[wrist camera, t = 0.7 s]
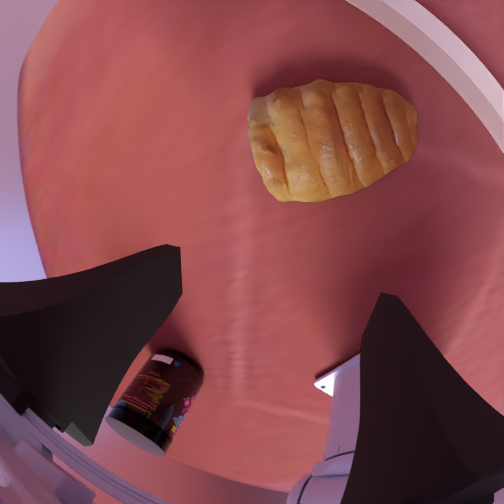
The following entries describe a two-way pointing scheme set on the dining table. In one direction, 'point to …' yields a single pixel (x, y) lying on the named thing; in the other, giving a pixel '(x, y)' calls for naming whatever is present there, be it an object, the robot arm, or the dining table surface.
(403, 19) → the white rectangular bar
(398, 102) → the pastry
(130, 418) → the supplement container
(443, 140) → the dining table surface
